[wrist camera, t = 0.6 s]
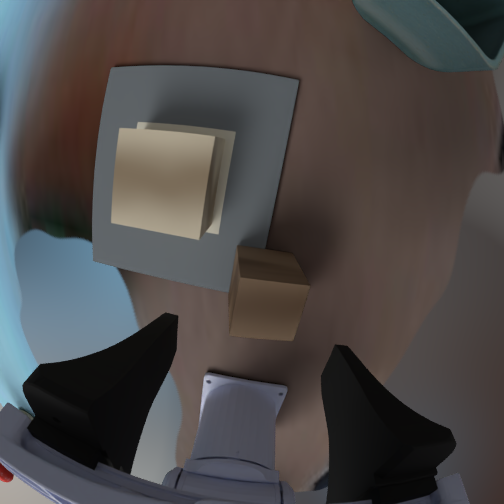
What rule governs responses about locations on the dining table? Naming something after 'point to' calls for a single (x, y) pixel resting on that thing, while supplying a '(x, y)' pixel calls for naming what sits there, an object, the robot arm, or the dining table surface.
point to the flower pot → (441, 31)
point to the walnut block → (266, 294)
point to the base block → (166, 181)
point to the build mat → (231, 171)
